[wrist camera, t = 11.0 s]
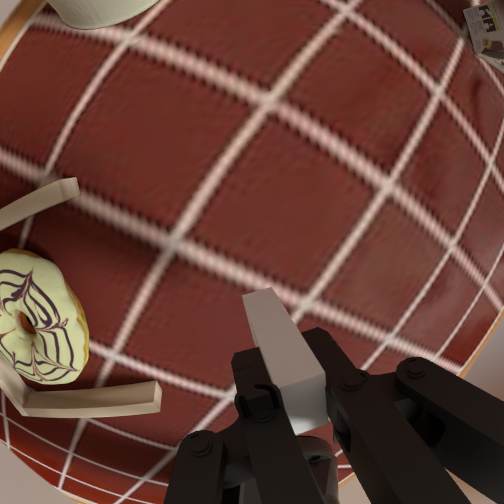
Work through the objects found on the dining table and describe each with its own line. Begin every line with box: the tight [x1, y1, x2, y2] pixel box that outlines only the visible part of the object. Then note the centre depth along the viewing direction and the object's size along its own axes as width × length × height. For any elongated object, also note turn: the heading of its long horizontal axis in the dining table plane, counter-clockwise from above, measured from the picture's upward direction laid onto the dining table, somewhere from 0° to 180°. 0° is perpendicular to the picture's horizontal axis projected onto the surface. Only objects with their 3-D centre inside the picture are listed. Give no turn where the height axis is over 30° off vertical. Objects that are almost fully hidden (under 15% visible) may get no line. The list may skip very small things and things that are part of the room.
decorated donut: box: [0, 248, 89, 384], centre depth 15 cm, size 10×11×4 cm
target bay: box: [0, 177, 162, 418], centre depth 16 cm, size 17×16×2 cm
